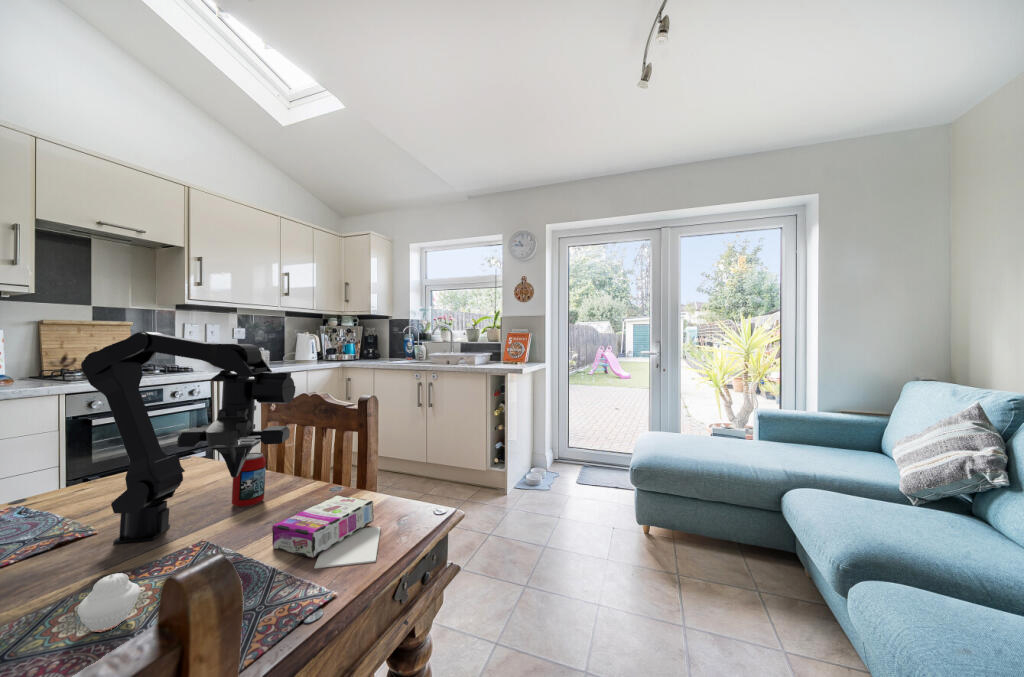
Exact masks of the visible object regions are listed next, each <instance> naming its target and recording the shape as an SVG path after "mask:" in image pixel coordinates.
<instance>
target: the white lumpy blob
mask: <svg viewBox="0 0 1024 677" xmlns="http://www.w3.org/2000/svg"><path fill="white" fill-rule="evenodd" d="M140 595H141V588H140V586H139V585H138V584H137V583H134V582H132V581H131V580H129V576H128V575H127V574H126V573H123V572H120V573H119V572H118V573H117V572H116V573H112V574H109V575H107V576H103V578H100V579H98V580H97V582H95V584H93V588H92V591H90V592H89V594H88V595H87V596H86V597H85V598H84V599H82V601H81V602H80V604H79V605H78V607H77V610H76V612H77V615H78V617H80V618H79V619H80V621H81V622H82V623H83V625H85V627H86V628H87V629H88V630H90V629H92V630H95V631H96V630H99V629H104V628H105V629H106V628H110V627H111V626H115V625H117V624H119V623H121V622H122V621H124V620H126V619H127V617H128V616H129V615H130V612H131V611H132V609H133V608H134V606H135V605H136V603H137V601H138V598H139V596H140ZM124 622H125V621H124Z"/></svg>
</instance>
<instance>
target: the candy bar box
mask: <svg viewBox="0 0 1024 677" xmlns="http://www.w3.org/2000/svg"><path fill="white" fill-rule="evenodd" d="M374 517H375V516H374V500H370V499H365V498H357V497H351V496H350V497H349V496H341V495H335V496H333V497H331V498H329V499H326V500H325V501H322V502H320V503H318V504H315V505H313V506H311V507H309V508H307V509H304V510H303V511H300V512H298V513H295V514H293V515H291V516H289V517H287V518H285V519H282V520H281V521H279V522H277V523H273V525H272V526H271V527H272V529H271V530H272V532H271V533H272V549H275V550H280V551H284V552H287V553H292V554H295V555H296V554H297V555H302V556H305V557H308V558H315V557H317V556H319V555H320V553H322V552H323V551H325V550H326V549H328V548H330V547H331V546H333V545H335V544H336V543H338V542H340V541H341V540H343V539H345V538H346V537H348V536H350V535H351V534H353V533H355V532H356V531H358V530H360V529H361V528H366V526H368V525H370V524H371V523H373V522H374Z"/></svg>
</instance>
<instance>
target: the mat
mask: <svg viewBox="0 0 1024 677" xmlns="http://www.w3.org/2000/svg"><path fill="white" fill-rule="evenodd" d="M381 529H382V528H381V526H372V527H363V528H361V529H360V530H358V531H356V532H355V533H353V534H351V535H350V536H348V537H346V538H345V539H343V540H341V541H340V542H338V543H336V544H335V545H333V546H331V547H330V548H328V549H326V550H325V551H323V552H322V553H320V554H318V557H317V559H316V562H315V564H314V569H322V568H323V569H324V568H331V567H332V568H333V567H343V566H350V565H361V564H369V563H376V562H377V554H378V549H379V540H380V535H381Z"/></svg>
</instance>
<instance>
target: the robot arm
mask: <svg viewBox="0 0 1024 677" xmlns="http://www.w3.org/2000/svg"><path fill="white" fill-rule="evenodd" d="M157 353H158V354H164V355H170V356H175V357H179V358H187V359H193V360H198V361H202V362H206V363H208V364H209V365H211V366H213V367H215V368H218V369H221V370H220V371H219V372H218V374H216V375H214V376H213V377H211V381H212V382H222V389H221V390H222V393H221V394H222V395H221V396H222V397H221V408H220V409H218V412H217V418H216V420H215V421H214V420H213V422H211V424H210V425H209V426H208V427H192V428H189V429H187V430H185V431H182V432H181V433H180V434H179V435H178V437H177V441H176V442H177V443H176V444H177V445H176V446H177V448H193V447H196V446H197V445H198V444H200V443H201V442H206V444H207V447H210V449H211V450H212V451H216V452H217V453H219V454H220V455H221V456H222V458H223V460H224V463H225V465H226V467H227V470H228V471H229V474H230V476H231V478H233V477H237V476H238V475H239V472H240V470H241V468H242V466H243V464H244V462H245V460H246V458H247V456H248V454H249V453H251V451H252V450H253V448H254V447H256V446H257V445H259V444H261V442H262V444H263V445H280V444H283V443H285V442H286V441H287V440H288V439H289V438H290V431H291V430H290V428H289V427H288V426H287V425H270V426H268V427H266V428H264V429H263V430H255V429H256V424H255V423H254V422H255V411H257V405H255V404H256V403H255V401H256V402H257V403H258V404H281V405H283V404H291V402H293V399H294V397H295V394H296V385H295V381H294V379H293V377H292V372H291V371H281V372H280V371H279V372H274V371H272V369H271V368H270V366H269V365H268V364H267V363H266V361H265V360H264V359H263V356H262V352H261V350H260V348H259V347H258V346H257V345H255V344H250V343H214V342H207V341H203V340H202V341H201V340H197V339H192V338H191V339H190V338H185V337H180V336H173V335H169V334H164V333H161V332H154V331H139V332H136V333H133V334H132V335H130V336H128V337H127V338H125V339H122V340H120V341H117V342H113V343H112V344H109V345H107V346H105V347H104V346H103V348H101V349H99V350H96V351H92V352H90V353H89V354H87V355H86V356H85V358H84V359H83V361H81V364H80V366H81V369H80V370H81V372H82V373H83V375H84V377H85V378H86V380H87V381H88V384H89V385H90V386H91V387H92V388H94V389H95V390H97V391H98V392H99V393H101V394H102V395H104V396H105V398H106V401H107V405H108V406H109V409H110V411H111V414H112V417H113V419H114V420H113V421H114V423H115V425H116V427H117V430H118V434H119V435H120V438H121V441H122V444H123V447H124V449H125V453H126V454H127V457H128V460H129V464H128V468H127V472H126V474H125V478H124V480H125V485H126V486H125V487H126V489H125V491H123V492H122V493H121V494H120V495H119V496H117V498H115V499H114V500H113V501H112V502H110V503H111V504H110V505H111V506H110V507H111V508H112V512H113V514H120V520H119V535H118V537H117V538H115V539H114V540H112V543H113V544H124V543H125V544H127V543H137V542H148V541H153V540H154V539H156V538H157V537H159V536H160V535H161V534H162V533H164V532H166V531H167V529H169V528H170V527H171V524H170V523H169V522H170V521H169V520H170V508H168V499H170V498H173V497H174V494H175V492H176V490H177V489H178V488H180V486H181V484H182V483H183V482H184V481H183V480H184V474H183V473H184V472H186V471H185V469H184V468H183V466H182V464H181V461H180V460H181V459H180V456H178V454H173V455H171V456H170V455H168V454H166V453H165V452H164V451H163V450H162V448H161V446H160V443H159V440H158V436H157V434H156V432H155V429H154V426H153V424H152V420H151V418H150V416H149V413H148V410H147V408H146V405H145V402H144V400H143V396H142V394H141V391H140V385H141V381H142V378H143V375H144V374H143V367H142V366H144V365H146V364H148V363H150V362H151V361H152V359H154V357H155V356H156V354H157ZM233 372H234V373H233ZM253 377H254V378H253Z"/></svg>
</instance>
